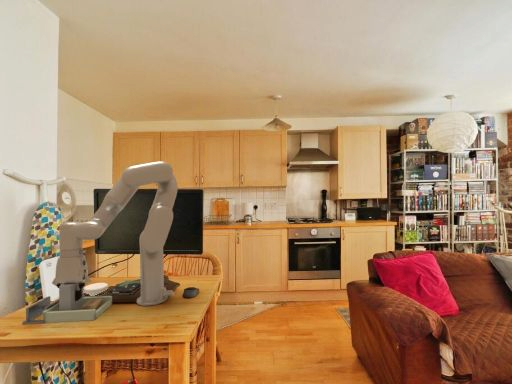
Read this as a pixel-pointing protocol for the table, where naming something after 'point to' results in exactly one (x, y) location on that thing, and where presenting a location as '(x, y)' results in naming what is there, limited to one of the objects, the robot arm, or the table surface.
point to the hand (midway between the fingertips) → (71, 299)
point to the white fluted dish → (95, 288)
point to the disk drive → (126, 287)
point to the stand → (38, 310)
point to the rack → (76, 312)
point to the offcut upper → (92, 304)
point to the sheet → (69, 298)
